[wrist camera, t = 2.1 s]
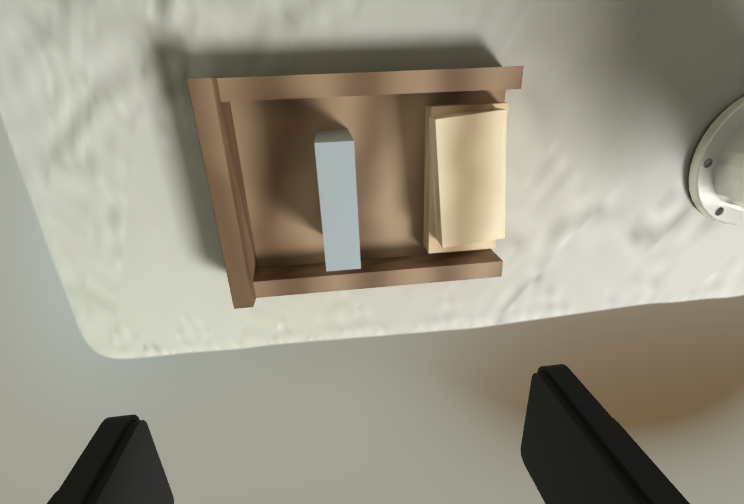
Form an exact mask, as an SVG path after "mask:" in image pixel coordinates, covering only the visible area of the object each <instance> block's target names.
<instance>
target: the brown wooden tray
mask: <svg viewBox="0 0 744 504" xmlns="http://www.w3.org/2000/svg"><path fill="white" fill-rule="evenodd" d="M522 75H523V66H512V67H487V68H461V69H436V70H410V71H385V72H359V73H334V74H308V75H283V76H257V77H231V78H193V79H187V83H188V88H189V93H190V98H191V102H192V107H193V112H194V117H195V122H196V127H197V131H198V136H199V141H200V146H201V151H202V156H203V160H204V165H205V170H206V175H207V180H208V185H209V189H210V194H211V199H212V204H213V209H214V214H215V218H216V223H217V228H218V233H219V238H220V243H221V247H222V252H223V257H224V262H225V267H226V272H227V276H228V281H229V286H230V291H231V296H232V301H233V305H234V309H236V308H247V307H253V306H254V303H255V299H256V298H259V297H270V296H282V295H293V294H305V293H317V292H328V291H340V290H351V289H363V288H374V287H386V286H397V285H409V284H421V283H432V282H444V281H455V280H467V279H478V278H490V277H501V275H502V265H503V261H502V260H501V259H500V258H499V257H498V256H497V255H496V254H495V253H494V252H493V251H492V250H491V249H479V250H466V251H454V252H441V253H428V252H427V250H426V248H425V247H424V245H423V232H424V168H425V105H443V104H464V103H485V102H504V100H505V89H521V84H522ZM338 129H348V130H349V132H350V134H351V136H352V138H353V140H354V149H355V168H356V186H357V205H358V223H359V241H360V260H361V269H351V270H339V271H326V262H325V252H324V241H323V230H322V220H321V209H320V198H319V188H318V177H317V166H316V156H315V145H314V142H315V136H316V131H319V130H338Z"/></svg>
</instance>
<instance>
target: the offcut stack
mask: <svg viewBox="0 0 744 504" xmlns="http://www.w3.org/2000/svg"><path fill="white" fill-rule="evenodd" d="M508 109H509V103H504V102H485V103H464V104H443V105H425V168H424V232H423V245H424V247H425V248H426V250H427V252H428V253H441V252H454V251H466V250H479V249H491V248H495V246H496V239H502V238H505V184H506V130H507V119H508Z"/></svg>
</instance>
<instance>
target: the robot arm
mask: <svg viewBox="0 0 744 504" xmlns="http://www.w3.org/2000/svg"><path fill="white" fill-rule="evenodd" d="M689 191H690V194H691V198H692V201H693V202H694V204H695V206H696V208H697V209H698V210H699V211H700V212H701V213H702V214H703V215H705V216H707V217H709V218H711V219H713V220H716V221H719V222H722V223H727V224H744V96H743V97H742V98H740V99H739V100H737V101H736V102H734V103H733V104H732V105H730V106H729V107H728V108H727V109H726V110H725V111H723V112H722V113H721V114H720V115H719V116H718V118H717V119H716V120H715V121H714V122H713V123H712V124H711V125H710V127H709V128H708V130H707V131H706V133H705V134H704V136H703V137H702V139H701V141H700V143H699V145H698V147H697V149H696V151H695V153H694V156H693V159H692V162H691V166H690V172H689ZM521 455H522V459H523V462H524V464H525V466H526V468H527V470H528V472H529V474H530V476H531V477H532V479H533V481H534V483H535V485H536V486H537V489H538V490H539V492H540V494H541V496H542V498H543V500H544V502H545V503H546V504H690V503H689V502H688V501H687V500H686V499H685V498H684V497H683V496H682V494H681V493H680V492H679V491H678V490H677V489H676V488H675V486H674V485H673V484H672V483H671V482H670V481H669V480H668V479H667V477H666V476H665V475H664V474H663V473H662V472H661V471H660V469H658V467H657V466H656V465H655V464H654V463H653V462H652V460H651V459H650V458H649V457H648V456H647V455H646V454H645V453H644V451H643V450H642V449H641V448H640V447H639V446H638V445H637V443H636V442H635V441H634V440H633V439H632V438H631V437H630V436H629V434H628V433H627V432H626V431H625V430H624V429H623V428H622V426H620V424H619V423H618V422H617V421H616V420H615V419H614V418H612V417H611V416H610V415H609V414H608V412H607V411H606V410H605V409H604V408H603V407H602V406H601V404H600V403H599V402H598V401H597V400H596V399H595V398H594V397H593V396H592V394H591V393H590V392H589V391H588V390H587V389H586V387H585V386H584V385H583V384H582V383H581V382H580V381H579V380H578V378H577V377H576V376H575V375H574V374H573V373H572V372H571V370H570V369H569V368H568V367H567V366H566V365H563V364H559V365H550V366H542V367H540V368H539V369H538V372H537V373H534V374H533V376H532V380H531V386H530V393H529V399H528V405H527V412H526V418H525V425H524V431H523V438H522V444H521ZM47 504H174V499H173V495H172V492H171V489H170V486H169V484H168V481H167V478H166V475H165V472H164V469H163V467H162V464H161V461H160V459H159V456H158V453H157V450H156V447H155V444H154V442H153V439H152V436H151V433H150V430H149V428H148V425H147V423H146V421H144V420H139V418H138V416H136V415H126V416H118V417H109V418H106V419H105V420H104V421H103V422H102V423H101V425H100V426H99V428H98V430H97V431H96V433H95V434H94V436H93V437H92V439H91V440H90V442H89V443H88V445H87V447H86V448H85V450H84V451H83V453H82V454H81V456H80V458H79V459H78V461H77V462H76V464H75V465H74V467H73V468H72V470H71V472H70V473H69V475H68V476H67V478H66V480H65V481H64V482H63V484H62V486H61V487H60V489H59V490H58V491H57V492H56V493H55V494H54V495H53V496H52V498H51V499H50V500H49V502H48V503H47Z"/></svg>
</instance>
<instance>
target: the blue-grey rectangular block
mask: <svg viewBox="0 0 744 504" xmlns="http://www.w3.org/2000/svg"><path fill="white" fill-rule="evenodd" d="M314 145H315V156H316V166H317V177H318V188H319V198H320V209H321V220H322V230H323V241H324V252H325V262H326V271H339V270H351V269H361V260H360V241H359V223H358V205H357V186H356V168H355V149H354V140H353V138H352V136H351V134H350V132H349V130H348V129H338V130H319V131H316V136H315V142H314Z"/></svg>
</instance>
